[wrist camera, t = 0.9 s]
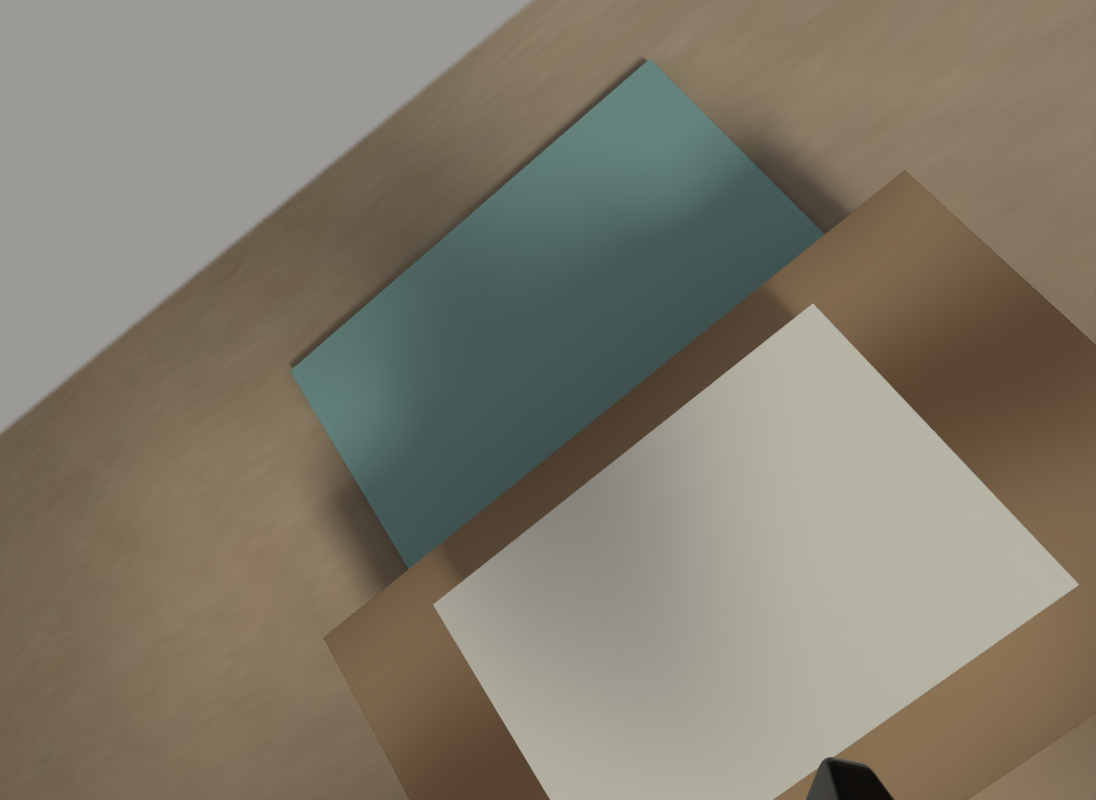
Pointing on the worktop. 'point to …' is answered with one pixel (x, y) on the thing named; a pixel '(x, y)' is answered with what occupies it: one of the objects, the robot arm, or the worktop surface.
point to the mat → (547, 308)
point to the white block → (747, 586)
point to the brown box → (933, 393)
